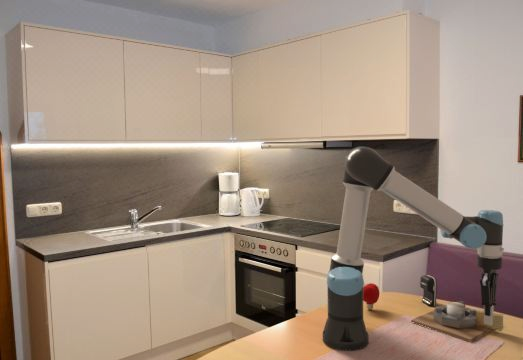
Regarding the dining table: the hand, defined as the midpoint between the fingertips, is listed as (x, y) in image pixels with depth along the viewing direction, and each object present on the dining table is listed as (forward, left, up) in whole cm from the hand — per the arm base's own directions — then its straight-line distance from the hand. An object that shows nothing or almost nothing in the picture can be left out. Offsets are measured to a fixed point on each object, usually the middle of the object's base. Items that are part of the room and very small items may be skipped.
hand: (488, 324), depth 155 cm
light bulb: (-13, +40, -3) cm, 42 cm away
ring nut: (0, +7, -2) cm, 7 cm away
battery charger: (+10, +29, -3) cm, 31 cm away
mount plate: (-1, +11, -3) cm, 12 cm away
